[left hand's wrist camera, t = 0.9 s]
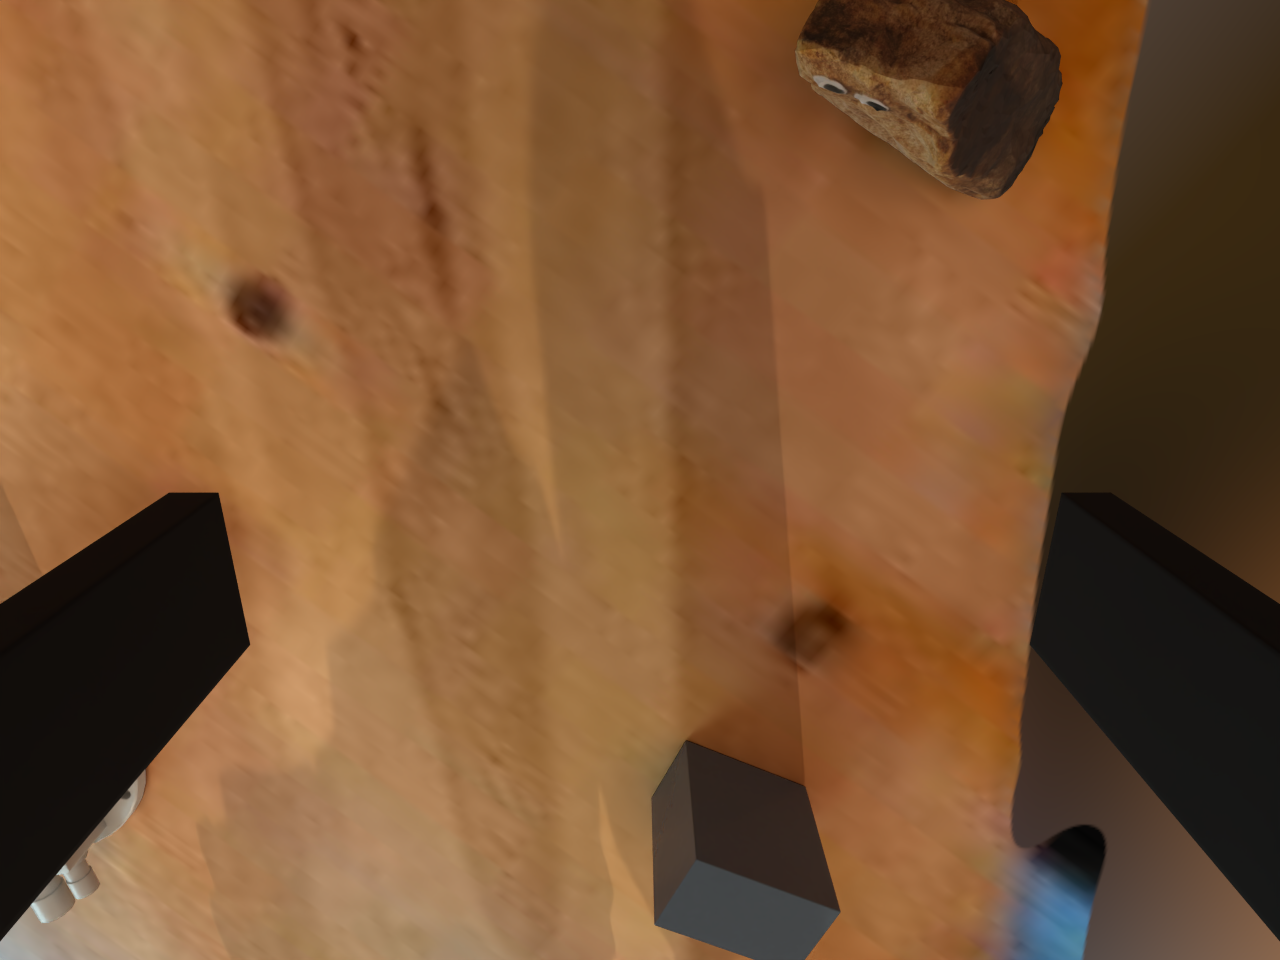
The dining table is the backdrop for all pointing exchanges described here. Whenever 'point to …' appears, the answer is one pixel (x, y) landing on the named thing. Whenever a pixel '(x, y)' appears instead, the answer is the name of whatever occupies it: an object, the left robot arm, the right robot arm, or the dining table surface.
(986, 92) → the decorative rock
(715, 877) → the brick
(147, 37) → the dining table surface
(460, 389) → the dining table surface
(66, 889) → the right robot arm
